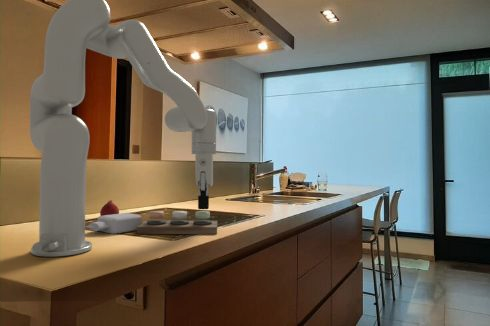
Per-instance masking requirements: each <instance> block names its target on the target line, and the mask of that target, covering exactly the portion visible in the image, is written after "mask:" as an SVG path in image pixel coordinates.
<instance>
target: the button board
mask: <svg viewBox="0 0 490 326" xmlns="http://www.w3.org/2000/svg"><path fill="white" fill-rule="evenodd" d="M136 234H137V235H217V234H218V220H209V219H198V220H186V219H174V220H172V219H171V220H170V219H169V220H165V219H150V220H148V219H146V220H144V221H143V222H142V224H140V225H139V226H138V227H137V230H136Z"/></svg>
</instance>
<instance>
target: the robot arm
mask: <svg viewBox="0 0 490 326" xmlns="http://www.w3.org/2000/svg"><path fill="white" fill-rule="evenodd" d="M110 21H111V9H110V6H109V5H108V3H107V1H106V0H67V1H65V2H64V3H63V4H62V5H60V7H59V8H58V9H57V10H56V12H55V13H54V14H53V16H52V18H51V19H50V22H49V23H48V24H49V25H48V26H47V30H46V33H45V34H46V35H45V40H44V41H45V42H44V43H45V44H44V55H43V57H44V58H43V69H42V70H43V72H42V73H41V75H39V76H37V77H36V79H35V80H34V81H33V83H32V85H31V89H30V94H29V95H30V99H29V136H30V140H31V142H32V145H33V146H34V147H35V149H37V151H38V152H40V153H42V155H41V160H40V161H41V162H40V167H39V168H40V170H39V220H38V221H39V225H38V226H39V228H38V229H39V230H38V231H39V232H38V233H39V234H38V236H39V237H38V241H37V242H35V243H34V244H32V246H31V248H30V253H31V254H32V255H33V256H37V257H48V258H49V257H53V258H55V257H67V256H73V255H79V254H84V253H86V252H88V251H90V250H92V249H93V243H92V242H91V241H89V240H86V228H85V226H86V199H87V198H86V197H87V196H86V193H87V192H86V190H87V187H86V186H87V183H86V182H87V181H86V179H87V163H88V161H87V160H88V154H89V148H90V136H91V135H90V131H89V128H88V126H87V124H86V122H85V121H83V119H81V118H80V117H78V116H77V115H74V114H72V113H73V112H72V111H73V109H72V108H74V107H76V106H79V104H81V103H82V102H83V100H85V99H84V98H85V95H86V56H87V55H86V54H87V49H88V50H91V51H93V52H96V53H99V54H102V55H105V56H107V57H109V58H110V57H111V58H115V59H120V60H121V59H126V58H127V60H128V61H129V63H130V64H131V66H132V68H133V69H134V71H135V72H136V74H137V75H138V77H139V79H140V81H141V82H142V83H143V84H144V85H145V86H147V87H148V88H150V89H152V90H155V91H158V92H160V93H162V94H164V95H166V96H167V97H169V98H170V99H171V100H172V101H173V102H174V103H175V104H176V106H175V107H172V108H171V109H170V108H169V110H168V111H166V113H165V116H164V124H165V125H166V127H167V128H168V129H169V130H171V131H173V132H176V133H186V132H190V133H191V155H195V156H194V157H195V162H194V163H195V164H194V165H195V168H194V169H195V185H196V186H197V187H198V195H197V197H198V198H197V209H198V210H208V209H209V207H210V205H209V204H210V195H209V187H213V185H214V159H213V158H214V157H213V155H217V112H216V111H215V110H213V109H211V108H206V107H205V104H204V103H203V100H202V99H201V97H200V96H199V94H198V92H197V91H196V90H195V88H194V87H193V86H192V85H191V84H190V83H189V82H188V81H186V79H184V78H183V77H182V76H181V75H180V74H178V73H177V72H175V71H174V70H173V69H172V68H171V67H170V66H169V64H168V63H167V60H166V59H165V57H164V55H162V52H161V50H160V49H159V47H158V45H157V43H156V42H155V40H154V38H153V37H152V36H151V33H150V32H149V30H148V29H147V27H146V26H145V24H144V23H143V22H141V21H140V20H137V19H134V18H133V19H127V20H124V21H122V22H120V23H118V24H116V25H111V24H110ZM209 185H210V186H209Z"/></svg>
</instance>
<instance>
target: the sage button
mask: <svg viewBox="0 0 490 326" xmlns="http://www.w3.org/2000/svg"><path fill="white" fill-rule="evenodd" d="M194 215H195V219H198V220H209V219H210V218H211V213H210V211H206V210H200V211H195V214H194Z"/></svg>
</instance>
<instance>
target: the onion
mask: <svg viewBox="0 0 490 326" xmlns="http://www.w3.org/2000/svg"><path fill="white" fill-rule="evenodd" d="M112 214H120V209H119V207H118V206H117V205H116V204H115V203H113V200H112V199H110V200H108V201H107V202H106V203H105V204H104V205H103V206H102V207H101V209H100V212H99V215H100V216H104V215H112Z"/></svg>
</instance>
